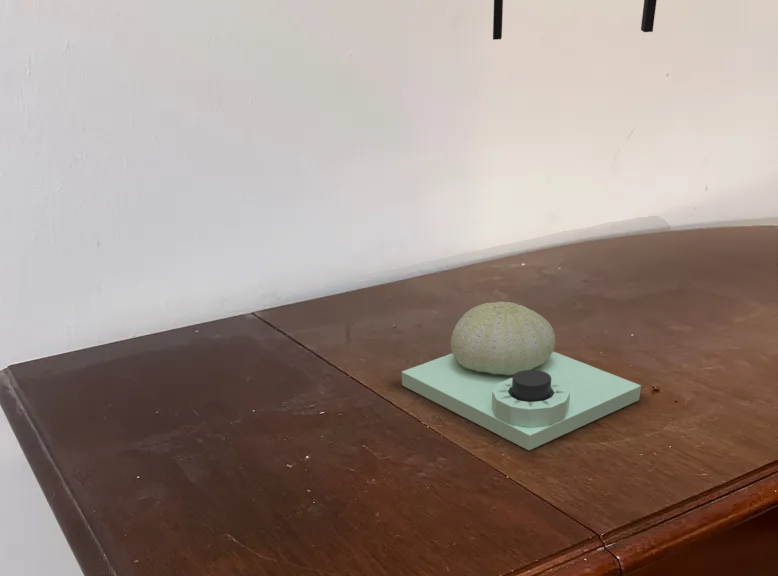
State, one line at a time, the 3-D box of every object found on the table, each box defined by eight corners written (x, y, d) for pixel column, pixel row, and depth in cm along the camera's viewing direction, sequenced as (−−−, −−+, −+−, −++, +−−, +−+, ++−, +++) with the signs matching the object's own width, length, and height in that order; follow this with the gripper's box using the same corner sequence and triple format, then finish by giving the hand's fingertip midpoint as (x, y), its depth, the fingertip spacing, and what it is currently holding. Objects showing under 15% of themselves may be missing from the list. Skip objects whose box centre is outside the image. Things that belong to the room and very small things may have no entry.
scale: (639, 400, 69) (644, 367, 67) (528, 451, 63) (531, 416, 61) (506, 346, 79) (508, 316, 78) (401, 385, 73) (400, 354, 72)
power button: (558, 395, 64) (559, 377, 63) (530, 407, 63) (532, 389, 62) (530, 384, 66) (531, 366, 65) (503, 395, 65) (504, 376, 64)
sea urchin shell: (530, 312, 77) (556, 270, 69) (546, 391, 76) (574, 357, 68) (436, 323, 76) (452, 282, 68) (451, 403, 75) (469, 370, 67)
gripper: (431, -277, 62) (433, 44, 75) (776, -316, 59) (719, 30, 71) (439, -258, 68) (440, 37, 81) (753, -291, 65) (704, 24, 77)
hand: (570, 35), depth 76 cm, fingers open, 13 cm apart
